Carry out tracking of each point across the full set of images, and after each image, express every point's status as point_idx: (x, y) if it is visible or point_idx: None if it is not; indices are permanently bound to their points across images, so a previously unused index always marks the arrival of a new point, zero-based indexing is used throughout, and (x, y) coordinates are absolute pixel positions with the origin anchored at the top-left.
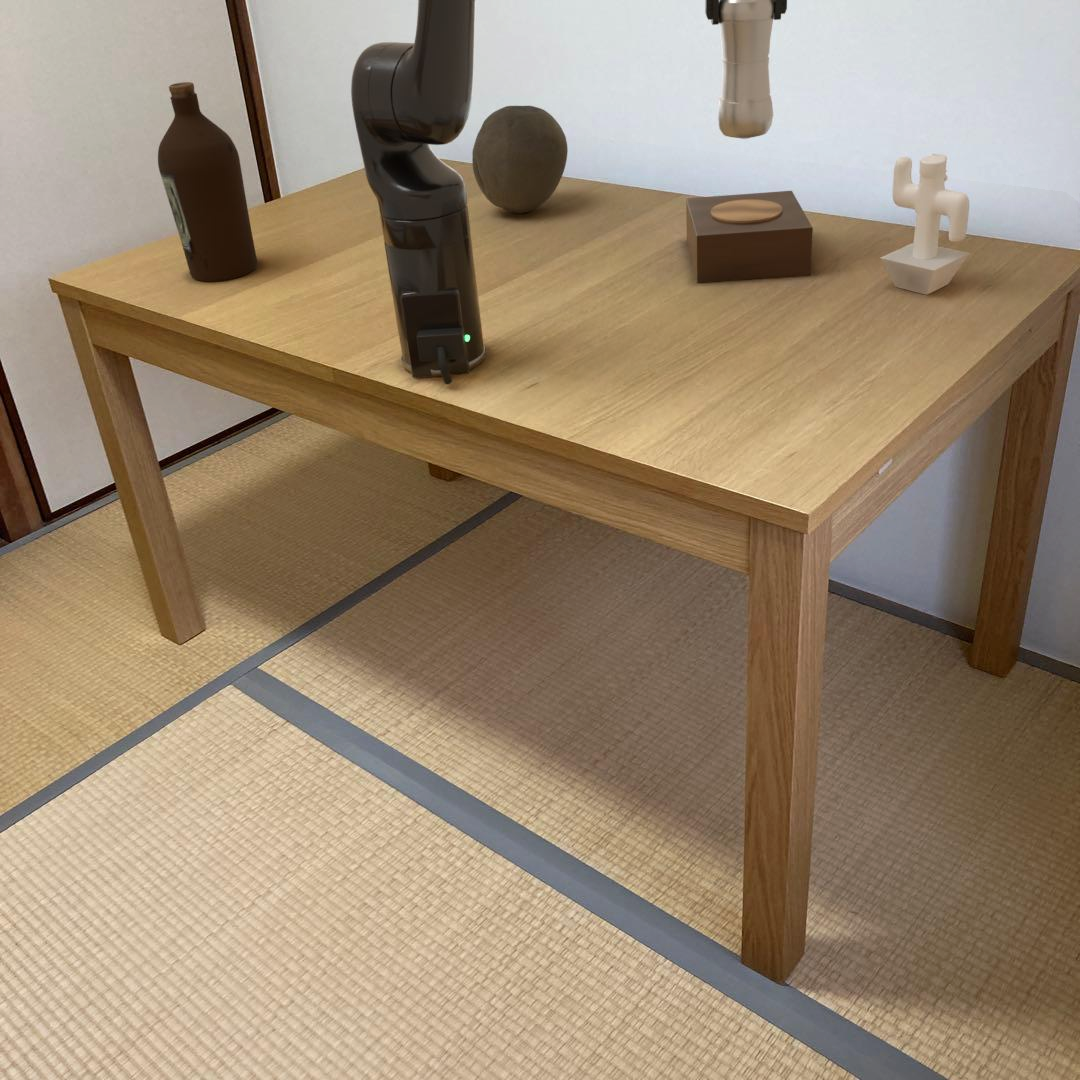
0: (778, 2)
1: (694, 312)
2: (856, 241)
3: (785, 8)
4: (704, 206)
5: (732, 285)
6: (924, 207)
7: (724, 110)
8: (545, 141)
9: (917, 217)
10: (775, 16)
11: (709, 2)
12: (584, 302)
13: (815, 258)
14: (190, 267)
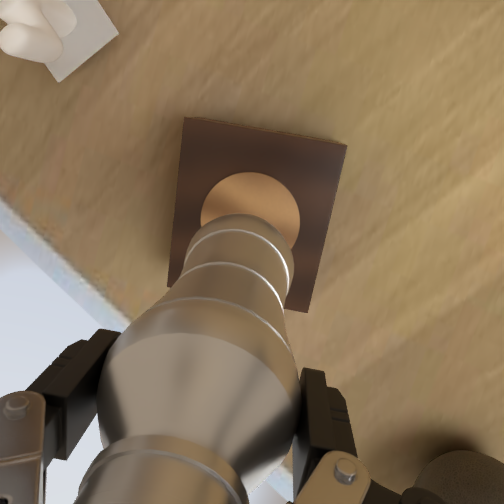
0: (87, 354)
1: (376, 35)
2: (115, 214)
3: (72, 347)
4: (295, 269)
5: (299, 118)
6: None
7: (287, 254)
8: None
9: (44, 1)
10: (116, 332)
11: (339, 428)
12: (495, 125)
13: (176, 175)
14: None
